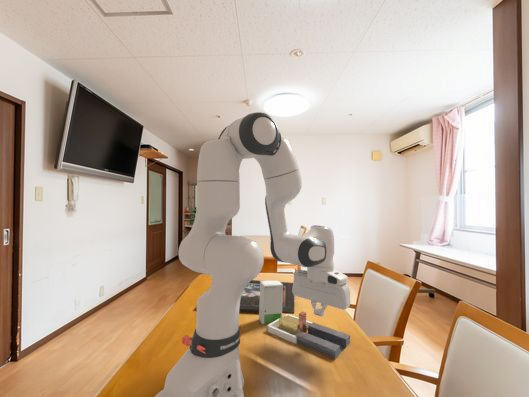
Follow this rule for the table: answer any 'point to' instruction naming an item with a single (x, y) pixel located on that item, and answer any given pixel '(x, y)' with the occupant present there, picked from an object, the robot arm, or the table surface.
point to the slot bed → (324, 340)
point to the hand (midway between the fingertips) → (318, 315)
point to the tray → (283, 334)
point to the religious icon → (252, 298)
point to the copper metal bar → (302, 322)
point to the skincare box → (270, 301)
